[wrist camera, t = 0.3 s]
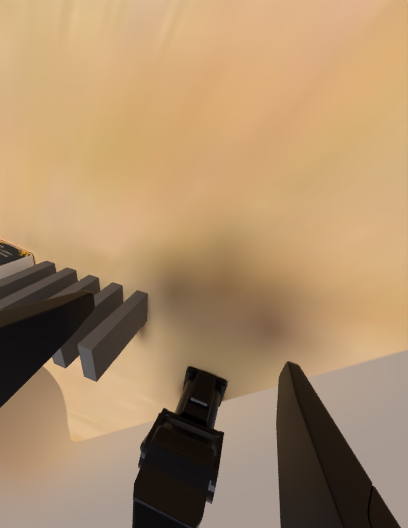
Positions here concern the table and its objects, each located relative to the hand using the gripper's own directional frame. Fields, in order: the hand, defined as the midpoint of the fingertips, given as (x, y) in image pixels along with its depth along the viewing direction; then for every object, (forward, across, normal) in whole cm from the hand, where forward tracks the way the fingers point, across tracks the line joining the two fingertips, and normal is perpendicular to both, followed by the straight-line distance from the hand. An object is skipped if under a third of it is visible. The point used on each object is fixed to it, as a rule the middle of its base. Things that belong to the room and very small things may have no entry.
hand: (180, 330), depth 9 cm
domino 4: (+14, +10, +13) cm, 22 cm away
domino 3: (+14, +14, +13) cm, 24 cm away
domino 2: (+14, +22, +13) cm, 30 cm away
